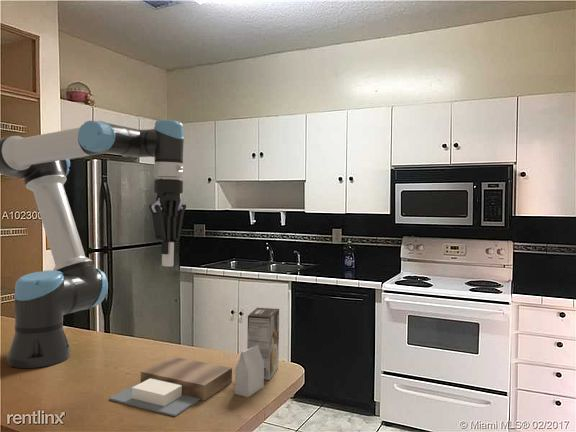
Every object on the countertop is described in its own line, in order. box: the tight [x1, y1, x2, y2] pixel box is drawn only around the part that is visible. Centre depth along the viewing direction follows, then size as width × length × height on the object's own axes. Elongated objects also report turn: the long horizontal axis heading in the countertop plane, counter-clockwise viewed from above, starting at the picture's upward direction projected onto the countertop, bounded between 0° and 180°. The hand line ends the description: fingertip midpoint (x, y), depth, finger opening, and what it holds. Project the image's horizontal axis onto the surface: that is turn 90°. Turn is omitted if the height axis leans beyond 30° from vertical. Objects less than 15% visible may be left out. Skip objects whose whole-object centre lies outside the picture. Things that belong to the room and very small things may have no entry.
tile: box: [131, 378, 182, 406], centre depth 105 cm, size 9×6×2 cm, turn 66°
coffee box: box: [246, 307, 280, 381], centre depth 122 cm, size 9×6×16 cm
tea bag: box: [234, 345, 265, 398], centre depth 111 cm, size 4×7×10 cm, turn 151°
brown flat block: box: [140, 356, 233, 402], centre depth 114 cm, size 18×12×4 cm, turn 66°
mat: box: [108, 383, 201, 417], centre depth 105 cm, size 18×9×1 cm, turn 66°
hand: (167, 265), depth 128 cm, fingers closed
